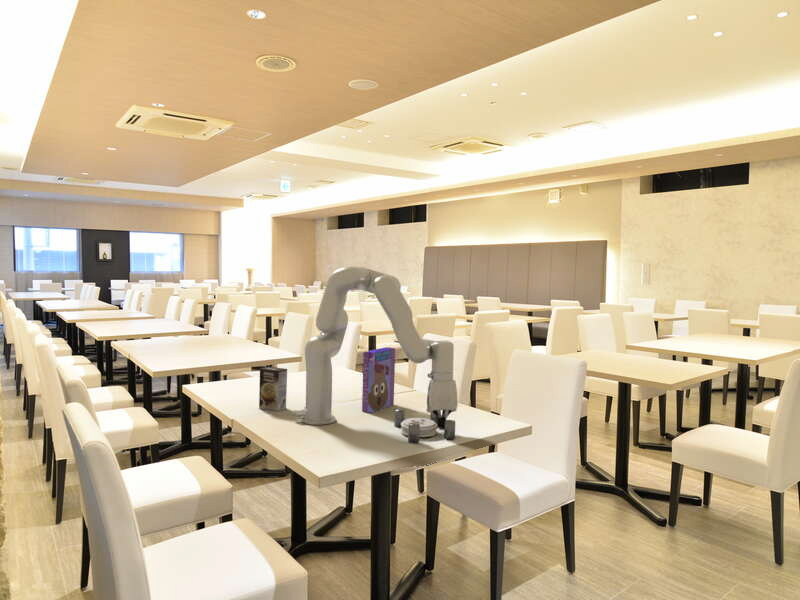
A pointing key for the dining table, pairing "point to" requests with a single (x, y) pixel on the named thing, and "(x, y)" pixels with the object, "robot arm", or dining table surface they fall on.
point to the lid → (425, 428)
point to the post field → (414, 427)
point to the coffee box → (273, 388)
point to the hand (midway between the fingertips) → (441, 428)
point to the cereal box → (378, 379)
